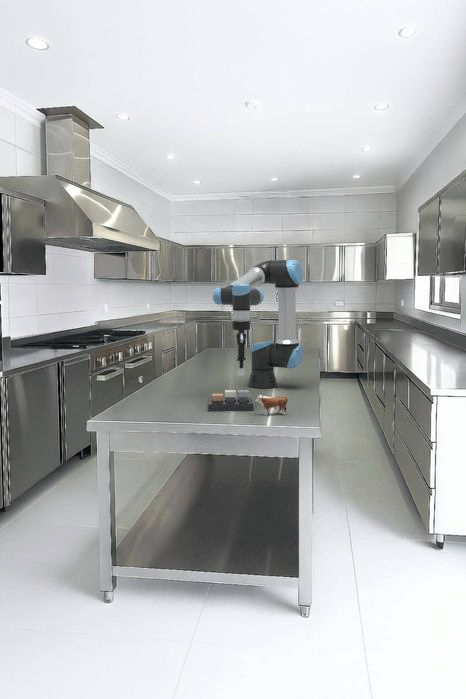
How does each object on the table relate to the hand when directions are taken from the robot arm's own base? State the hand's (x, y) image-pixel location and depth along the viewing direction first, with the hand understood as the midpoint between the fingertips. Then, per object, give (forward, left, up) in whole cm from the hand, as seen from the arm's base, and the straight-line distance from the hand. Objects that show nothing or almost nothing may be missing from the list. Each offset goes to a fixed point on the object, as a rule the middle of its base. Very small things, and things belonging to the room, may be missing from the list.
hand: (241, 375), depth 237 cm
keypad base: (+5, 0, -14) cm, 15 cm away
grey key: (-1, 0, -12) cm, 12 cm away
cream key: (+5, 0, -12) cm, 13 cm away
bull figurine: (-12, +12, -14) cm, 22 cm away
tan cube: (+10, 0, -14) cm, 17 cm away
